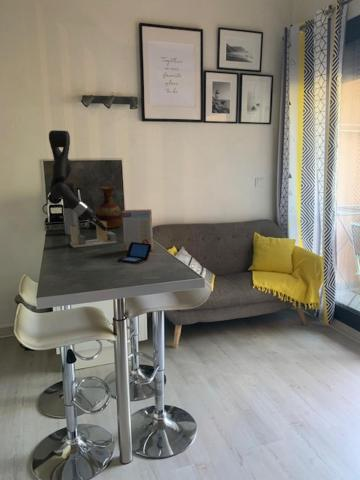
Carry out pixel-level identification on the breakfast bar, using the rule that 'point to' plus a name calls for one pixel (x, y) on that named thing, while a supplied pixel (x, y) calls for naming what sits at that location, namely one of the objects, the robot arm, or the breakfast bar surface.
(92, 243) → the vise
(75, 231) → the sliding jaw
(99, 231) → the brass block
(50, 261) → the breakfast bar surface
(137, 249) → the handheld game console
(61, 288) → the breakfast bar surface
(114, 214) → the brown vase
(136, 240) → the cracker box
